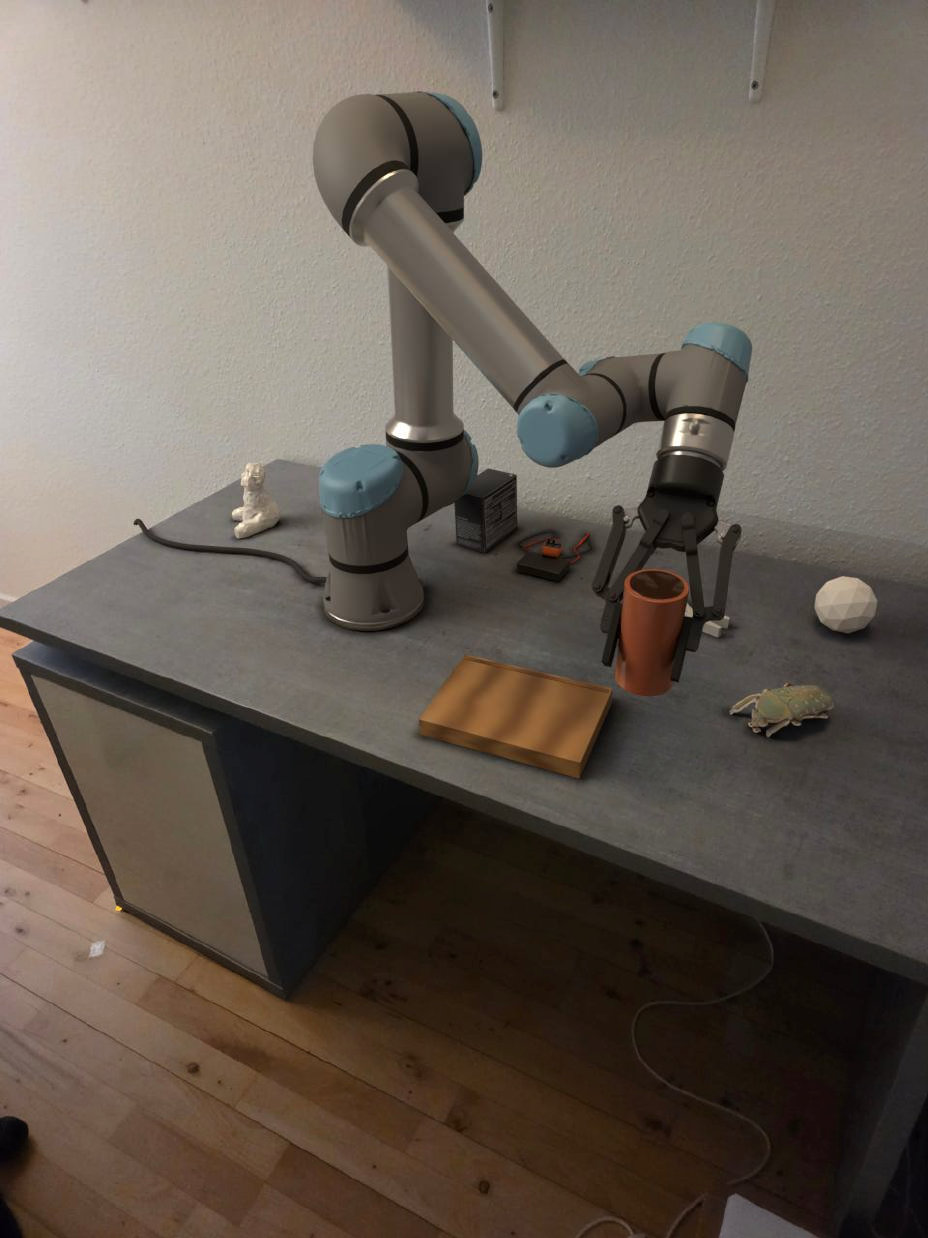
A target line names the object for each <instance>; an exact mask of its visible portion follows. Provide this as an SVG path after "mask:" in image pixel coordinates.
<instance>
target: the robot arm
mask: <svg viewBox="0 0 928 1238" xmlns="http://www.w3.org/2000/svg"><path fill="white" fill-rule="evenodd" d="M481 140H482V139H481V137H480V133H479V130H478V127H477V125H476V123H475V121H474V119H473V117H472V116H471V115H470V114H469V112H468V110H467V109H466V108H465V107H464V106H463V104H462V103H461V102H459V101H458V100H456V99H455V98H454V97H452V96H449V95H447V94H445V93H444V94H443V93H440V92H430V91H429V92H428V91H423V90H419V91H407V92H395V93H393V92H392V93H380V94H379V93H377V94H372V93H361V94H354V95H351V96H348V97H346V98H344V99H342V100H340V101H338V102H337V103H335V105H334V106H332V107H330V109H329V110H328V111H327V113H326V114H324V116H323V118H322V119H321V122H320V123H319V125H318V128H317V129H316V133H315V136H314V141H313V145H312V167H313V174H314V179H315V183H316V186H317V189H318V192H319V194H320V196H321V199H322V202H323V203H324V205H325V207H326V208H327V209H328V211H329V213H330V215H331V216H332V218H333V219H334V220H335V222H336V223H337V224H338V225H339V227H340V228H341V229H342V231H343V232H344V233H345V234H346V235H347V236H348V237H349V238H350V239H351V241H352V242H353V243H354V244H355V245H357V246H359V247H363V248H365V247H370V248H371V249H372V250H373V251H374V252H375V254H377V256H378V257H379V258H380V259H381V260H382V261H383V263H385V265H386V270H387V272H386V273H387V291H388V309H389V330H390V346H391V348H390V351H391V365H392V366H391V367H392V385H393V402H394V403H393V405H394V406H393V407H394V414H393V415H392V416H391V417H390V418H389V419H388V420H387V421H386V422H385V425H384V428H385V429H384V432H385V445H384V444H376V443H371V444H370V443H369V444H361V445H360V446H357V447H355V446H351V447H348V448H345V449H342V450H341V451H339V452H337V453H335V454H334V455H332V456H331V457H329V458H328V459H327V460H326V461H325V462H324V463H323V465H322V466H321V468H320V471H319V474H318V487H319V490H318V491H319V493H318V499H319V500H318V501H319V505H320V509H321V514H322V520H323V526H324V532H325V539H326V540H325V541H326V547H327V553H328V561H329V565H328V570H327V575H326V576H311V575H309V574H307V573H306V572H305V571H304V569H303V568H302V567H301V565H300V564H299V563H297V562H296V561H295V560H294V559H292V558H289V557H288V556H285V555H282V554H279V553H277V552H272V551H267V550H263V549H256V548H248V547H236V546H235V547H234V546H233V547H232V546H218V545H205V544H190V543H183V542H177V541H173V540H169V539H165V538H162V537H159V536H157V535H155V534H153V533H152V532H151V531H150V530H149V529H148V527H146V525H145V523H144V521H143V520H142V519H140V518H136V519H134V521H133V525H134V526H139V528H140V530H141V532H142V533H143V534H144V535H145V536H146V537H147V538H149V539H150V540H152V541H155V542H156V543H159V544H162V545H163V546H168V547H172V548H176V549H177V548H178V549H182V550H188V551H189V550H190V551H200V552H201V551H203V552H217V553H218V552H219V553H230V554H231V553H232V554H233V553H234V554H246V555H247V554H248V555H253V556H260V557H264V558H265V557H266V558H271V559H275V560H278V561H281V562H283V563H286V564H288V565H290V566H291V567H292V568H294V570H295V571H296V572H297V573H298V575H299V576H300V577H301V578H302V579H304V580H305V581H307V582H309V583H312V584H318V583H319V584H320V583H321V584H323V583H324V589H323V594H322V605H323V610H324V614H325V616H326V618H328V620H329V621H331V623H333V624H335V625H337V626H339V627H341V628H344V629H346V630H352V631H359V632H360V631H361V632H373V631H376V632H377V631H383V630H387V629H392V628H395V627H398V626H400V625H403V624H406V623H407V622H409V621H411V620H412V619H414V618H415V617H416V616H417V615H419V613H420V612H421V611H422V609H423V607H424V604H425V591H424V587H426V582H425V580H423V579H421V578H419V575H418V572H417V570H416V567H415V566H414V563H413V561H412V559H411V557H410V554H409V540H408V530H409V528H411V527H413V526H415V525H416V524H417V523H419V522H421V521H423V520H425V519H427V518H428V517H430V516H432V515H433V514H435V513H437V512H439V511H440V510H442V509H444V508H446V507H448V506H451V505H453V504H454V503H455V501H457V500H458V499H459V498H460V497H461V496H463V495H464V494H465V493H467V492H468V491H469V490H470V488H471V487H472V486H473V484H474V482H475V480H476V477H477V475H478V474H479V466H480V465H479V464H480V463H479V462H480V461H479V460H480V459H479V453H478V450H477V446H476V444H474V443H472V439H473V438H472V437H471V435H470V434H469V432H468V431H467V430H465V423H464V421H463V420H462V419H461V418H460V417H459V416H458V415H457V414H456V413H455V412H454V343H455V345H456V346H457V347H458V348H459V349H460V350H461V351H462V352H463V353H464V355H465V356H466V357H467V358H468V359H469V360H470V362H471V363H472V364H473V365H474V366H475V367H476V368H477V369H478V371H479V372H480V373H481V374H482V375H483V376H484V377H485V379H486V380H487V381H488V382H489V383H490V384H491V385H492V386H493V388H494V389H495V390H496V391H497V392H498V393H499V394H500V395H501V396H502V398H503V399H504V400H505V401H506V402H507V403H508V405H509V406H510V407H511V408H512V410H514V412H515V413H516V414H518V418H517V420H516V435H517V438H518V439H519V443H520V448H521V449H522V451H523V453H524V454H525V455H526V457H527V458H529V459H530V460H531V461H532V462H534V463H535V464H537V465H539V466H542V467H544V468H550V469H555V468H561V467H564V466H567V465H568V464H571V463H572V462H574V461H577V460H580V459H582V458H583V457H585V456H588V455H589V454H591V452H593V450H595V449H596V448H598V447H599V446H600V445H602V444H604V443H605V442H606V441H608V440H610V439H612V438H613V437H615V436H617V435H618V434H620V433H622V432H623V431H625V430H626V429H628V428H630V427H631V426H633V425H634V424H638V423H651V422H653V423H654V422H663V426H662V429H661V433H660V438H659V441H658V445H657V448H656V453H655V457H656V460H655V461H654V463H653V465H652V470H651V473H650V478H649V481H648V486H647V489H646V493H645V496H644V498H643V500H642V501H641V502H640V503H639V504H638V506H637V507H635V506H634V507H625V508H624V506H622V505H620V504H616V505H615V506H613V508H612V512H611V513H612V526H611V529H610V532H609V535H608V538H607V541H606V543H605V546H604V550H603V552H602V555H601V558H600V561H599V563H598V567H597V569H596V572H595V575H594V577H593V581H592V584H591V589H592V591H593V594H595V596H596V597H598V598H600V599H601V600H604V602H605V603H604V608H603V612H602V614H601V615H602V616H601V620H600V623H599V627H600V631H601V633H603V634H607V636H606V641H605V644H604V648H603V652H602V656H601V659H600V660H601V661H600V662H601V663H602V665H603V666H604V667H608V668H612V666H613V662H614V658H615V654H616V652H617V648H618V639H619V630H620V620H621V611H622V602H623V592H624V583H625V579H626V578H627V577H628V576H629V575H630V574H632V573H634V572H636V571H640V570H643V569H644V567H645V565H646V564H647V562H648V560H649V559H650V557H651V556H653V555H654V553H655V552H656V550H657V548H658V549H664V550H665V549H672V550H674V551H676V552H679V553H685V558H686V559H685V560H686V566H687V575H688V586H689V593H690V601H691V608H692V610H693V616H692V617H687V616H685V617H684V620H683V625H682V629H681V633H680V637H679V642H678V646H677V650H676V654H675V659H674V663H673V667H672V671H671V675H670V679H671V681H673V682H674V683H677V684H679V682H680V680H681V679H680V678H681V674H682V671H683V666H684V663H685V657H686V654H687V652H691V653H697V651H698V649H699V647H700V643H701V640H702V639H701V638H702V635H703V632H702V630H703V626H704V624H705V623H706V622H708V621H714V620H717V621H720V620H722V619H723V618H724V616H726V615H725V614H726V608H727V601H728V600H727V599H728V592H729V585H730V576H731V569H732V563H733V553H734V551H735V550H736V548H737V546H738V544H739V542H740V541H741V538H742V532H743V531H742V530H743V529H742V526H741V525H740V524H739V523H733V524H729V523H728V522H724V521H722V520H720V519H719V515H718V512H717V511H718V505H719V501H720V497H721V492H722V488H723V485H724V479H725V473H724V471H725V470H726V469H727V466H728V463H729V459H730V455H731V451H732V445H733V441H734V438H735V431H736V425H737V421H738V418H739V414H740V413H739V412H740V409H741V405H742V403H743V398H744V394H745V391H746V386H747V384H748V382H749V377H750V375H749V373H750V366H751V360H752V355H753V354H752V353H753V344H752V340H751V339H750V338H749V336H748V335H747V333H745V331H743V330H742V329H740V328H738V327H737V326H735V325H732V324H728V323H724V322H717V321H716V322H715V321H713V322H712V321H711V322H704V323H701V324H699V325H698V326H696V327H693V328H691V329H690V330H689V331H688V332H686V335H685V337H684V340H683V342H682V344H681V346H680V349H678V350H670V351H667V352H661V353H650V354H638V355H626V356H614V355H613V356H606V357H604V358H601V359H595V360H589V361H587V362H585V363H584V364H582V365H581V366H580V367H579V370H578V372H577V370H576V369H575V368H574V367H573V366H572V365H571V364H570V363H569V362H568V361H567V360H566V359H565V358H564V357H563V355H562V354H561V353H560V352H559V350H557V348H556V347H555V346H554V345H553V344H552V343H551V342H550V341H549V339H548V338H547V337H546V336H545V335H544V334H543V333H542V331H540V329H539V328H538V327H537V326H536V324H534V322H532V320H531V319H530V318H529V317H528V316H527V315H526V313H525V312H524V311H523V310H522V309H521V308H520V307H519V305H518V304H517V303H516V302H515V301H514V300H513V299H512V297H510V296H509V294H508V293H507V292H506V291H505V290H504V288H503V287H502V286H501V285H500V284H499V282H497V281H496V280H495V278H494V277H493V276H492V275H491V274H490V273H489V271H488V270H487V269H486V268H485V267H484V266H483V265H482V264H481V263H480V261H479V260H478V259H477V258H476V257H475V256H474V255H473V253H472V252H471V251H470V250H469V249H468V248H467V247H466V245H465V244H464V243H463V242H462V241H461V240H460V239H459V238H458V237H457V235H456V234H455V232H456V230H457V229H458V228H460V226H461V225H462V223H463V222H464V221H465V197H466V196H467V195H468V194H469V193H470V192H471V191H472V190H473V188H474V185H475V183H477V182H478V180H479V179H480V176H481V172H482V166H483V147H482V141H481ZM636 520H639V521H640V523H641V525H642V528H643V530H644V533H643V535H642V537H640V540H639V542H638V545H637V546H636V547H635V549H634V551H633V553H632V554H631V556H630V557H629V559H628V560H627V562H626V564H625V565H624V567H623V568H622V570H621V571H620V573H619V574H618V576H617V577H616V578H615V580H614V582H613V584H612V585H611V586H610V587H609V585H610V582H611V579H612V576H613V574H614V571H615V569H616V568H615V567H616V566H617V562H618V559H619V556H620V554H621V550H622V547H623V545H624V542H625V539H626V534H627V530H628V529H631V528H632V527H633V525H634V522H635V521H636ZM714 532H716V534H717V537H716V540H717V543H718V545H720V549H719V557H718V565H717V572H716V579H715V586H714V595H713V601H712V605H710V606H705V600H704V592H703V591H704V590H703V581H702V573H701V567H700V559H699V550H698V549H699V548H698V545H699V544H700V543H702V542H703V541H705V539H707V538H708V537H709V536H710V535H711V534H712V533H714Z"/></svg>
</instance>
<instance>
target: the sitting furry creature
mask: <svg viewBox="0 0 928 1238" xmlns="http://www.w3.org/2000/svg"><path fill="white" fill-rule="evenodd" d="M240 476H241V479H240V486H241V487H243V489H244V490H243V496H242V501H243V506H239V507H237V508H235V509H233V510H232V512H231V518H232V520H233V521H236V522H240V523H238V524H237V525H236V526H235V527H234V528H233V531H234V535H235V537H236V539H246V538H249V537H252V536H254V535H256V534H258V533H261V532H264V531H265V530H268V529H271V528H273V527H275V525H276V524H277V523H278V521H280V517H281V510H280V507H279V505H278V504H277V502H275V501H274V500H273V499H272V498H271V497H270V496H269V494H268V492H267V491H268V490H267V488H265V487H264V484H265V479H266V471H265V469H264V468H263V466H262V464H261V462H260V461H257V462H252V461H250V462H248V463H247V464H245V471H244V472H242V473H241V474H240Z"/></svg>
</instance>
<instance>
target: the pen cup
mask: <svg viewBox="0 0 928 1238" xmlns="http://www.w3.org/2000/svg"><path fill="white" fill-rule="evenodd" d="M689 593H690V585H689V582H687V581H686V580H685V579H684V578H683V577H682V576H680V575H678V574H676V573H674V572H671V571H668V570H665V569H656V568H647V569H642V570H640V571H636V572H634V573H632V574H630V575H629V576H628V577H627V578H626V579H625V583H624V592H623V599H622V601H621V603H622V611H621V620H620V630H619V638H618V642H617V648H616V659H615V668H614V679H615V682H616V684H617V685H618V686H619V687H620V688H621V689H623V690H624V691H626V692H627V693H630V694H633V695H635V696H640V697H649V698H650V697H658V696H662V695H664V694H666V693H668V692H669V691H670V690H671V689H672V688H673V686H674V685H675V682H673V681H671V679H670V675H671V671H672V667H673V663H674V659H675V654H676V650H677V646H678V642H679V637H680V633H681V629H682V625H683V620H684V617H685V612H686V606H687V603H688V598H689Z"/></svg>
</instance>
